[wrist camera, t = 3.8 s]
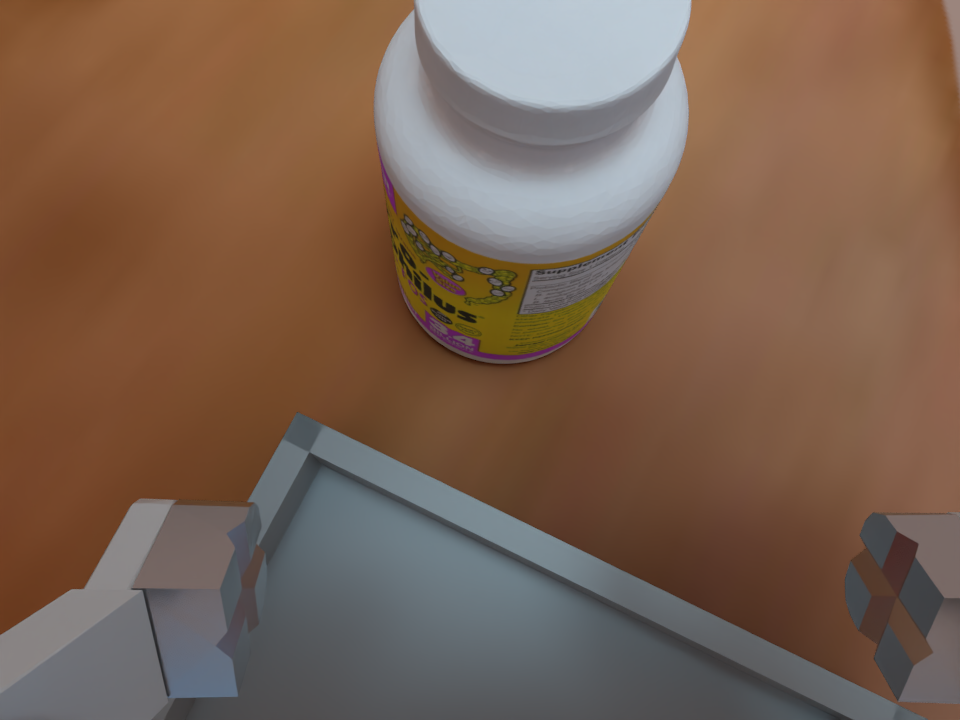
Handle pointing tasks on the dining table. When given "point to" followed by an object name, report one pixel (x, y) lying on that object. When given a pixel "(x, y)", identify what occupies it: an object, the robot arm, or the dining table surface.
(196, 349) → the dining table surface
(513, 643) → the tray
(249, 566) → the robot arm
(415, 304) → the supplement bottle
